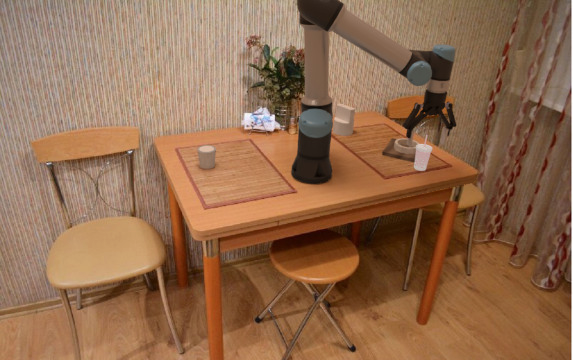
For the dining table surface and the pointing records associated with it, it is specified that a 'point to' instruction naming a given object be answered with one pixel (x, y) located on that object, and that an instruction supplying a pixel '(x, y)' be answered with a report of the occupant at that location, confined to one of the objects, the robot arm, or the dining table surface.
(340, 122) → the cylinder with rectangular tab
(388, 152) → the holder
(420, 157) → the beverage cup
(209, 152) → the gray tapered cup
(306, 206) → the dining table surface
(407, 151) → the ring
